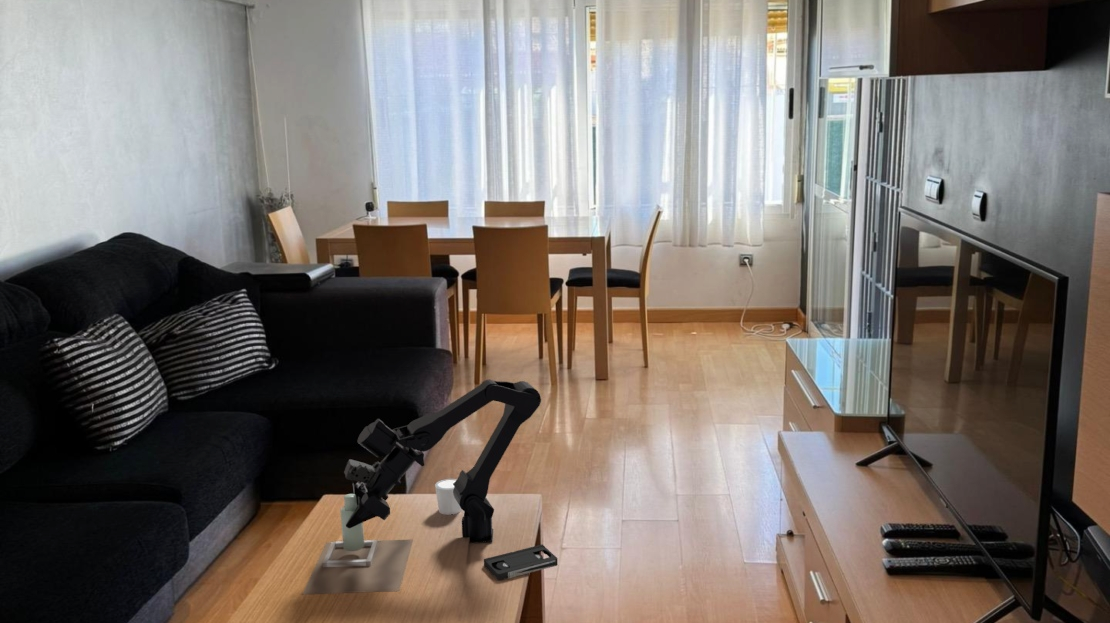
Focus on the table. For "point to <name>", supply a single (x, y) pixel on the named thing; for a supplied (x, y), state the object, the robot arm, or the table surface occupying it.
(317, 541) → the table surface
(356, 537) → the bottle
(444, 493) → the white cup
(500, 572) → the vhs tape
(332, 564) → the board
